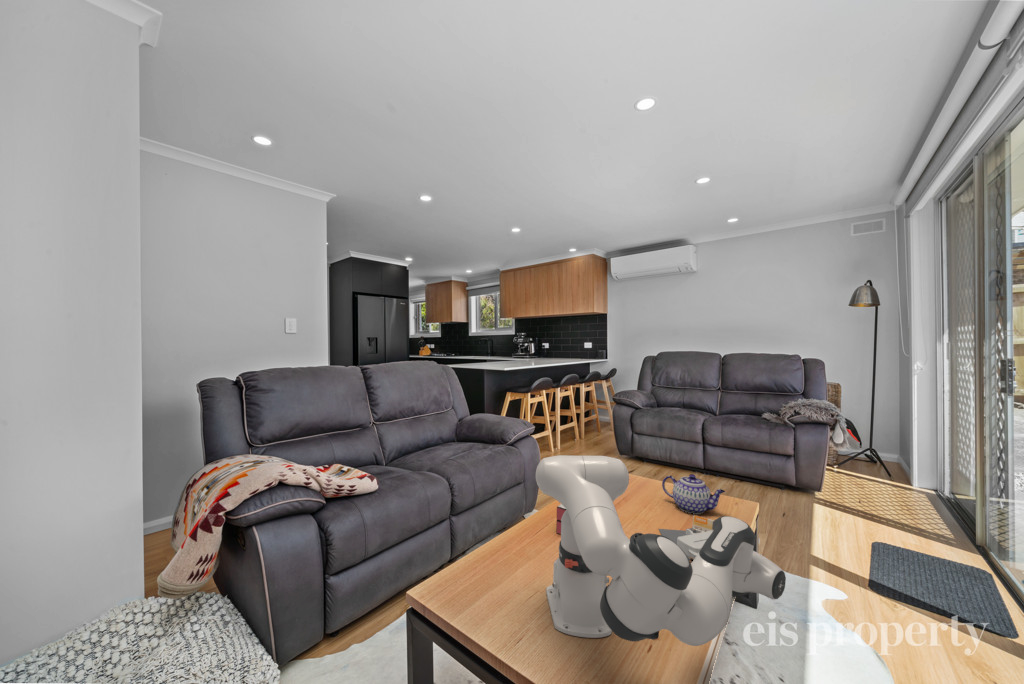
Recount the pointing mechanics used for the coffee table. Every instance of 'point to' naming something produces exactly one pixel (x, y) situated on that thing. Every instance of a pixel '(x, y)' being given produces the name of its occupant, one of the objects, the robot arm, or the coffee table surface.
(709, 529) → the supplement box
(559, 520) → the puzzle cube
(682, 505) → the teapot
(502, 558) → the coffee table surface
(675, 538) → the mat
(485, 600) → the coffee table surface
